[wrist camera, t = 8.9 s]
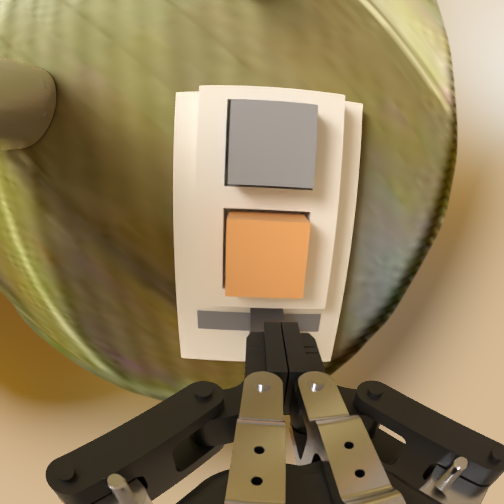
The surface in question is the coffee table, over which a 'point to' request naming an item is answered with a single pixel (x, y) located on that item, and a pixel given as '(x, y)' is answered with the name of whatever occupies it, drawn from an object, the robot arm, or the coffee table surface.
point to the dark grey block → (264, 317)
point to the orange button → (266, 254)
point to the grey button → (272, 143)
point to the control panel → (258, 200)
